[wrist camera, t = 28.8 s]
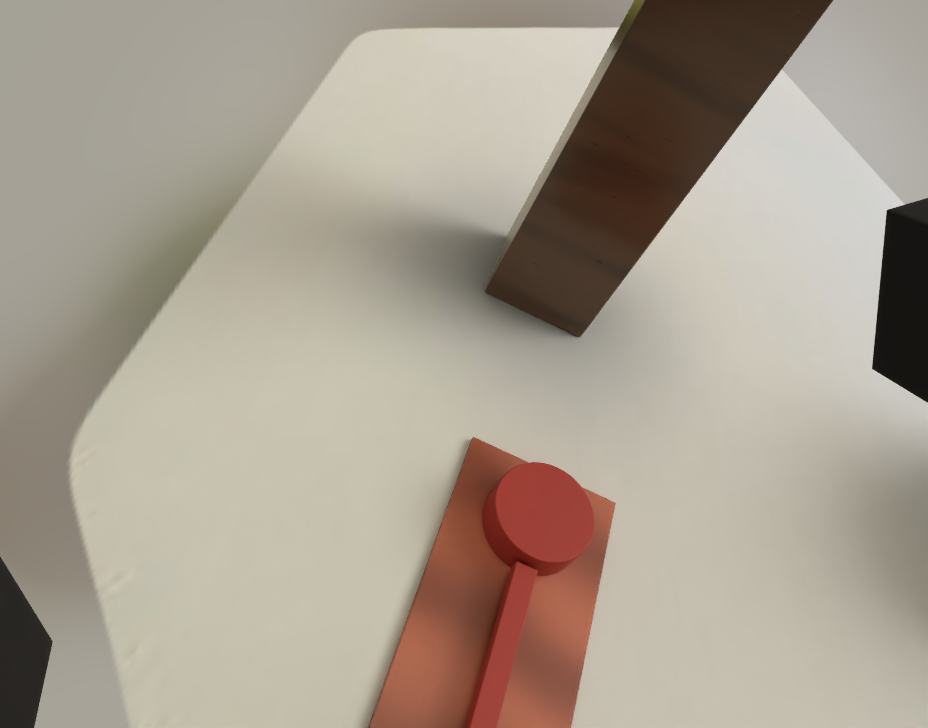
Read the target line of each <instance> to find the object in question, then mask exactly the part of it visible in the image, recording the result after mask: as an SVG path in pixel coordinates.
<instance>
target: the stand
mask: <svg viewBox="0 0 928 728" xmlns="http://www.w3.org/2000/svg"><path fill="white" fill-rule="evenodd" d="M832 1H833V0H634V2H633V3H632V5H631V7H630V9H629V11H628V13H627V14H626V16H625V18H624V20H623V22H622V24H621V26H620V27H619V29H618V31H617V33H616V35H615V37H614V39H613V40H612V42H611V44H610V46H609V48H608V50H607V51H606V53H605V55H604V57H603V59H602V61H601V63H600V64H599V66H598V68H597V70H596V72H595V74H594V76H593V77H592V79H591V81H590V83H589V85H588V87H587V89H586V90H585V92H584V94H583V96H582V98H581V100H580V102H579V103H578V105H577V107H576V109H575V111H574V113H573V115H572V116H571V118H570V120H569V122H568V124H567V126H566V127H565V129H564V131H563V133H562V135H561V137H560V139H559V140H558V142H557V144H556V146H555V148H554V150H553V152H552V153H551V155H550V157H549V159H548V161H547V163H546V165H545V166H544V168H543V170H542V172H541V174H540V176H539V178H538V179H537V181H536V183H535V185H534V187H533V189H532V191H531V192H530V194H529V196H528V198H527V200H526V202H525V203H524V205H523V207H522V209H521V211H520V213H519V215H518V216H517V218H516V220H515V222H514V224H513V226H512V228H511V229H510V231H509V233H508V235H507V237H506V240H505V242H504V245H503V247H502V250H501V252H500V255H499V257H498V259H497V262H496V264H495V267H494V269H493V272H492V274H491V277H490V279H489V281H488V284H487V286H486V289H485V292H486V293H488V294H491V295H493V296H495V297H497V298H499V299H501V300H503V301H505V302H507V303H509V304H511V305H514V306H516V307H518V308H520V309H522V310H524V311H526V312H528V313H530V314H532V315H534V316H536V317H539V318H541V319H543V320H545V321H547V322H549V323H551V324H553V325H555V326H557V327H559V328H562V329H564V330H566V331H568V332H570V333H572V334H574V335H576V336H578V337H581V336H582V334H583V333H584V332H585V330H586V329H587V328H588V326H589V325H590V324H591V322H592V321H593V320H594V318H595V317H596V316H597V314H598V313H599V312H600V310H601V309H602V308H603V306H604V305H605V304H606V302H607V301H608V300H609V298H610V297H611V296H612V294H613V293H614V292H615V290H616V289H617V288H618V286H619V285H620V284H621V282H622V281H623V280H624V278H625V277H626V276H627V274H628V273H629V272H630V270H631V269H632V268H633V266H634V265H635V264H636V262H637V261H638V260H639V258H640V257H641V256H642V254H643V253H644V252H645V250H646V249H647V248H648V246H649V245H650V244H651V242H652V241H653V240H654V238H655V237H656V236H657V234H658V233H659V232H660V230H661V229H662V228H663V226H664V225H665V224H666V222H667V221H668V220H669V218H670V217H671V216H672V214H673V213H674V212H675V210H676V209H677V208H678V206H679V205H680V204H681V202H682V201H683V200H684V198H685V197H686V196H687V194H688V193H689V192H690V190H691V189H692V188H693V186H694V185H695V184H696V182H697V181H698V180H699V178H700V177H701V176H702V174H703V173H704V172H705V170H706V169H707V168H708V166H709V165H710V164H711V162H712V161H713V160H714V158H715V157H716V156H717V154H718V153H719V152H720V150H721V149H722V148H723V146H724V145H725V144H726V142H727V141H728V140H729V138H730V137H731V136H732V134H733V133H734V132H735V131H736V129H737V128H738V127H739V125H740V124H741V123H742V121H743V120H744V119H745V117H746V116H747V115H748V113H749V112H750V111H751V109H752V108H753V107H754V105H755V104H756V103H757V101H758V100H759V99H760V97H761V96H762V95H763V93H764V92H765V91H766V89H767V88H768V87H769V85H770V84H771V83H772V81H773V80H774V79H775V77H776V76H777V75H778V73H779V72H780V71H781V69H782V68H783V67H784V65H785V64H786V62H787V61H788V60H789V59H790V57H791V56H792V55H793V53H794V52H795V51H796V49H797V48H798V47H799V45H800V44H801V43H802V41H803V40H804V39H805V37H806V36H807V35H808V33H809V32H810V31H811V29H812V28H813V27H814V25H815V24H816V23H817V21H818V20H819V19H820V17H821V16H822V14H823V13H824V12H825V11H826V9H827V8H828V7H829V5H830V4H831V3H832ZM525 463H528V462H526V461H524V460H522V459H520V458H517V457H515V456H513V455H511V454H509V453H507V452H504V451H502V450H500V449H498V448H496V447H494V446H492V445H489V444H487V443H485V442H483V441H481V440H479V439H476V438H474V437H473V438H472V440H471V443H470V446H469V448H468V451H467V454H466V457H465V460H464V462H463V465H462V468H461V471H460V473H459V476H458V479H457V482H456V485H455V487H454V490H453V493H452V496H451V499H450V501H449V504H448V507H447V510H446V512H445V515H444V518H443V521H442V524H441V526H440V529H439V532H438V535H437V538H436V540H435V543H434V546H433V549H432V551H431V554H430V557H429V560H428V563H427V565H426V568H425V571H424V574H423V577H422V579H421V582H420V585H419V588H418V590H417V593H416V596H415V599H414V602H413V604H412V607H411V610H410V613H409V616H408V618H407V621H406V624H405V627H404V629H403V632H402V635H401V638H400V641H399V643H398V646H397V649H396V652H395V655H394V657H393V660H392V663H391V666H390V668H389V671H388V674H387V677H386V680H385V682H384V685H383V688H382V691H381V694H380V696H379V699H378V702H377V705H376V708H375V710H374V713H373V716H372V719H371V721H370V724H369V727H368V728H465V726H466V722H467V719H468V715H469V712H470V708H471V705H472V701H473V698H474V694H475V691H476V687H477V684H478V680H479V677H480V673H481V670H482V666H483V663H484V659H485V656H486V652H487V649H488V645H489V642H490V639H491V635H492V632H493V628H494V625H495V621H496V618H497V614H498V611H499V607H500V604H501V600H502V597H503V593H504V590H505V586H506V583H507V579H508V576H509V572H510V569H511V567H510V566H509V565H507V564H506V563H505V562H504V561H502V560H501V559H500V558H499V557H498V555H497V554H496V553H495V552H494V550H493V549H492V548H491V546H490V544H489V542H488V540H487V538H486V535H485V532H484V528H483V520H482V514H483V507H484V503H485V501H486V499H487V497H488V495H489V493H490V492H491V491H492V490H493V488H494V487H495V486H496V485H497V484H498V482H499V481H500V480H501V479H502V477H503V476H504V475H505V474H506V473H507V472H508V471H509V470H511V469H512V468H514V467H516V466H518V465H521V464H525ZM582 489H583V490H584V492H585V493H586V495H587V497H588V499H589V501H590V503H591V506H592V509H593V513H594V533H593V536H592V540H591V542H590V544H589V546H588V547H587V548H586V550H585V551H584V552H583V553H582V554H581V555H580V556H578V557H577V558H576V559H575V560H574V561H573V562H571V563H570V564H569V565H568V566H567V567H565V568H564V569H563V570H561V571H559V572H557V573H555V574H552V575H547V576H536V580H535V583H534V587H533V591H532V595H531V599H530V603H529V606H528V610H527V614H526V618H525V622H524V625H523V629H522V633H521V637H520V641H519V644H518V648H517V652H516V656H515V660H514V664H513V667H512V671H511V675H510V679H509V683H508V686H507V690H506V694H505V698H504V702H503V706H502V709H501V713H500V717H499V721H498V725H497V728H571V725H572V719H573V714H574V709H575V704H576V699H577V694H578V689H579V684H580V679H581V674H582V669H583V664H584V659H585V654H586V649H587V644H588V639H589V634H590V629H591V624H592V619H593V613H594V608H595V603H596V598H597V593H598V588H599V583H600V578H601V573H602V568H603V563H604V558H605V553H606V548H607V543H608V538H609V533H610V528H611V523H612V518H613V513H614V507H615V503H614V502H612V501H610V500H608V499H606V498H604V497H601V496H599V495H597V494H595V493H593V492H591V491H589V490H586V489H584V488H582Z"/></svg>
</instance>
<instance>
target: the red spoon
mask: <svg viewBox="0 0 928 728" xmlns="http://www.w3.org/2000/svg"><path fill="white" fill-rule="evenodd" d="M482 520H483V528H484V532H485V535H486V538H487V540H488V542H489V544H490V546H491V548H492V549H493V550H494V552H495V553H496V554H497V555H498V557H499V558H500V559H501V560H502V561H504V562H505V563H506V564H507V565H509V566H510V567H511V569H510V572H509V576H508V579H507V583H506V586H505V590H504V593H503V597H502V600H501V604H500V607H499V611H498V614H497V618H496V621H495V625H494V628H493V632H492V635H491V639H490V642H489V645H488V649H487V652H486V656H485V659H484V663H483V666H482V670H481V673H480V677H479V680H478V684H477V687H476V691H475V694H474V698H473V701H472V705H471V708H470V712H469V715H468V719H467V722H466V726H465V728H497V725H498V721H499V717H500V713H501V709H502V706H503V702H504V698H505V694H506V690H507V686H508V683H509V679H510V675H511V671H512V667H513V664H514V660H515V656H516V652H517V648H518V644H519V641H520V637H521V633H522V629H523V625H524V622H525V618H526V614H527V610H528V606H529V603H530V599H531V595H532V591H533V587H534V583H535V580H536V576H547V575H552V574H555V573H557V572H559V571H561V570H563V569H564V568H565V567H567V566H568V565H569V564H570V563H571V562H573V561H574V560H575V559H576V558H577V557H578V556H580V555H581V554H582V553H583V552H584V551H585V550H586V548H587V547H588V546H589V544H590V542H591V540H592V536H593V533H594V513H593V509H592V506H591V503H590V501H589V499H588V497H587V495H586V493H585V492H584V490H583V489H582V487H581V486H580V485H579V484H578V483H577V482H576V481H575V480H574V479H573V478H572V477H571V476H570V475H569V474H567V473H566V472H564V471H563V470H561V469H559V468H557V467H554V466H552V465H549V464H545V463H536V462H532V463H525V464H521V465H518V466H516V467H514V468H512V469H511V470H509V471H508V472H507V473H506V474H505V475H504V476H503V477H502V479H501V480H500V481H499V482H498V484H497V485H496V486H495V487H494V488H493V490H492V491H491V492H490V493H489V495H488V497H487V499H486V501H485V503H484V507H483V514H482Z"/></svg>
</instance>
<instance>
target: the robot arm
mask: <svg viewBox="0 0 928 728" xmlns="http://www.w3.org/2000/svg"><path fill="white" fill-rule="evenodd" d="M872 369H873V370H875V371H877V372H878V373H880V374H882V375H883V376H885V377H887V378H888V379H890V380H891V381H893V382H895V383H896V384H898V385H900V386H901V387H903V388H905V389H906V390H908V391H909V392H911V393H913V394H914V395H916V396H918V397H919V398H921V399H923V400H924V401H926V402H928V198H926V199H923V200H920V201H916V202H913V203H909V204H906V205H903V206H899V207H896V208H893V209H889V210H887V215H886V226H885V237H884V247H883V258H882V269H881V280H880V291H879V301H878V312H877V323H876V334H875V344H874V355H873V366H872ZM51 647H52V640H51V638H50V637H49V635H48V633H47V632H46V630H45V628H44V627H43V625H42V624H41V622H40V620H39V619H38V617H37V615H36V614H35V613H34V611H33V609H32V607H31V606H30V604H29V603H28V601H27V599H26V598H25V596H24V594H23V593H22V591H21V590H20V588H19V586H18V585H17V583H16V582H15V580H14V578H13V577H12V575H11V573H10V572H9V571H8V569H7V567H6V565H5V564H4V562H3V561H2V559H1V557H0V728H34V725H35V721H36V716H37V711H38V707H39V702H40V697H41V693H42V688H43V684H44V678H45V674H46V669H47V665H48V660H49V655H50V651H51Z"/></svg>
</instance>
